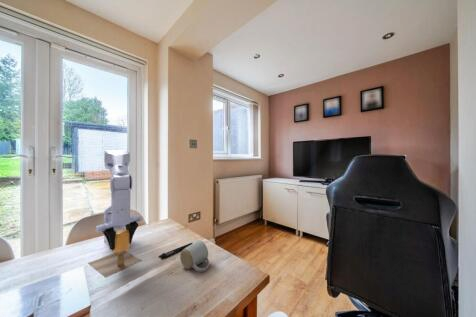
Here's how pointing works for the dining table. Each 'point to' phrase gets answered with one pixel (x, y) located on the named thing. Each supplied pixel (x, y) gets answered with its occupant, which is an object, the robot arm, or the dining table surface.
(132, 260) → the board
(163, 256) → the electric trimmer
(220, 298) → the dining table surface
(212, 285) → the dining table surface
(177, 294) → the dining table surface
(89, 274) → the dining table surface
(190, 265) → the ceramic mug
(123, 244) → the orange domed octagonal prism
